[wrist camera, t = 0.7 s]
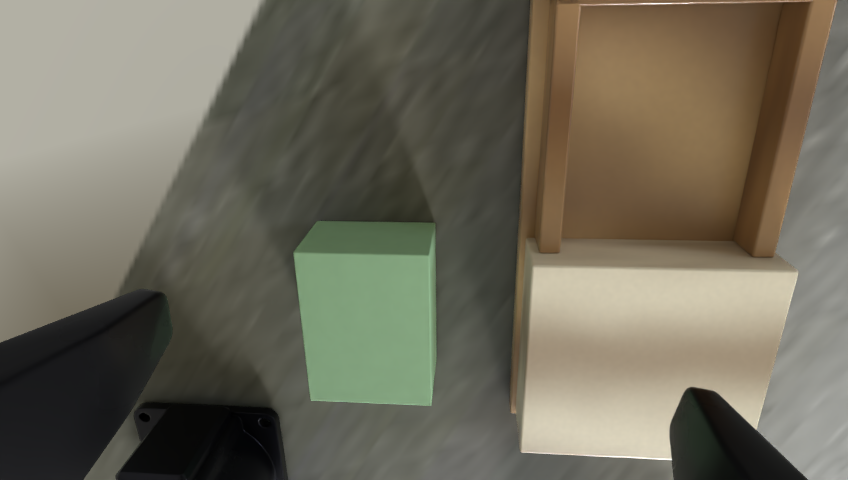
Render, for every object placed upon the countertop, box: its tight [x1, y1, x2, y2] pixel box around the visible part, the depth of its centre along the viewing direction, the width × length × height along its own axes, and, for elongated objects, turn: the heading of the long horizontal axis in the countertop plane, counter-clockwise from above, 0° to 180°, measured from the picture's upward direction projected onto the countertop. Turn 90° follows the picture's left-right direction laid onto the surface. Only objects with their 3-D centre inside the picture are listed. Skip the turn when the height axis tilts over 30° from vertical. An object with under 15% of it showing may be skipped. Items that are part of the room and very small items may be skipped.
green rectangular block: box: [293, 221, 437, 406], centre depth 20 cm, size 6×4×3 cm
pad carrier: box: [509, 0, 837, 460], centre depth 18 cm, size 16×8×3 cm, turn 1°
